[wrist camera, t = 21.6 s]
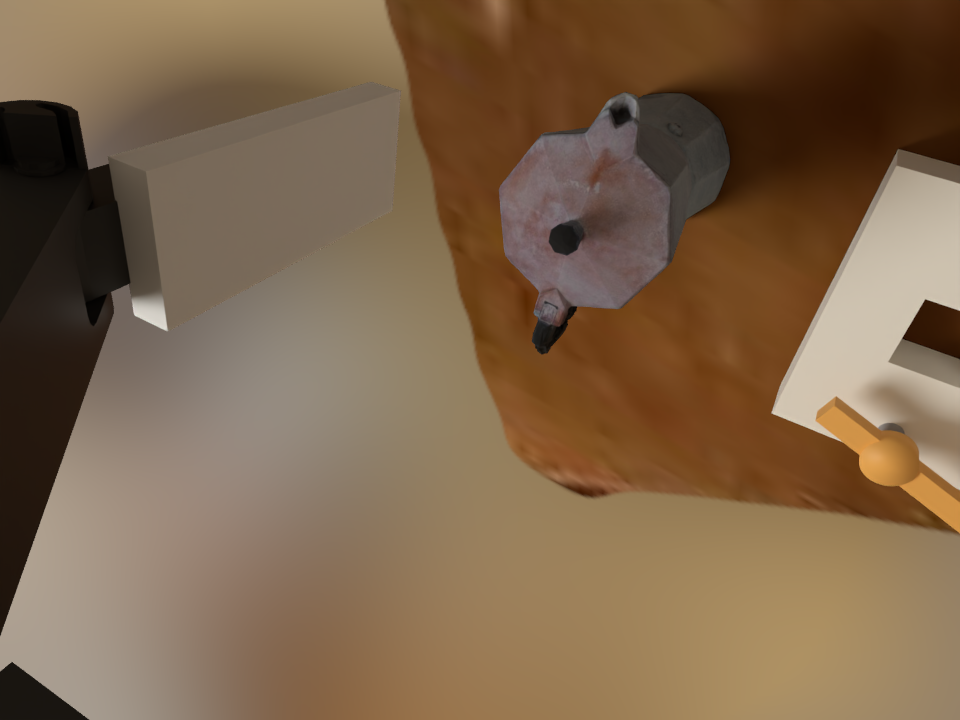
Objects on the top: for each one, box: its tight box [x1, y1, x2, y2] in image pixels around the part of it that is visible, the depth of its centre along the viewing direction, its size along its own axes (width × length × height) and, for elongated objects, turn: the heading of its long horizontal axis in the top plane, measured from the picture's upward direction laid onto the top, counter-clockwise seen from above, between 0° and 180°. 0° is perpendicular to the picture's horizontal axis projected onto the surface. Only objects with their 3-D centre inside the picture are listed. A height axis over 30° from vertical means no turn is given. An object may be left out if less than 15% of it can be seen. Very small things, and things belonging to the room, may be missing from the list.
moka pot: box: [499, 92, 730, 354], centre depth 42 cm, size 10×15×20 cm, turn 170°
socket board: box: [772, 149, 960, 490], centre depth 44 cm, size 18×14×6 cm
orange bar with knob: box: [815, 396, 960, 533], centre depth 45 cm, size 12×3×1 cm, turn 61°
